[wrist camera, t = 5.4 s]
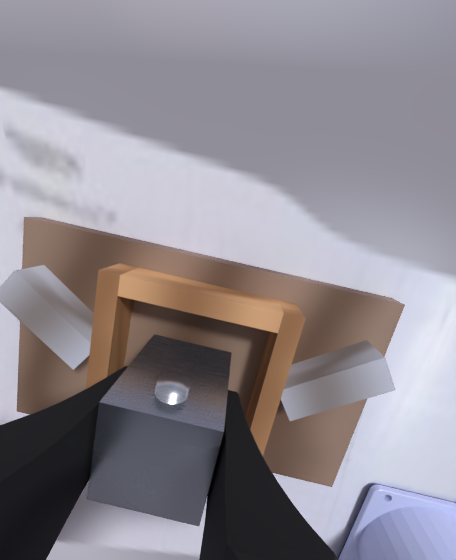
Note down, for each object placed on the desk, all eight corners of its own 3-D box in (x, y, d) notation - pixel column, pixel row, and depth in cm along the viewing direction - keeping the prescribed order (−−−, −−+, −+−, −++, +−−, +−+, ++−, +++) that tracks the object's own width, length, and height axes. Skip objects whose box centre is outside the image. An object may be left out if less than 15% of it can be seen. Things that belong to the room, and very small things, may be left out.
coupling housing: (391, 298, 14) (433, 319, 11) (325, 468, 17) (344, 524, 14) (42, 217, 14) (-15, 215, 11) (32, 398, 17) (-16, 437, 14)
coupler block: (233, 345, 13) (226, 421, 8) (213, 424, 14) (196, 534, 9) (155, 327, 13) (100, 391, 8) (141, 407, 14) (86, 507, 9)
